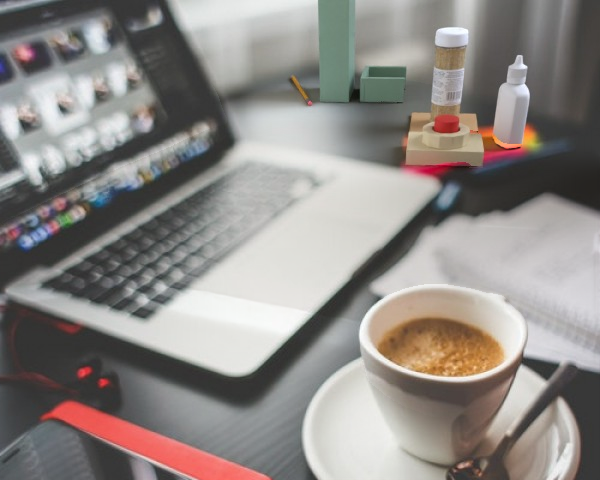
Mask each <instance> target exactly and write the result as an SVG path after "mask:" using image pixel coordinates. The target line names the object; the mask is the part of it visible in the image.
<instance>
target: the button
mask: <svg viewBox="0 0 600 480" xmlns="http://www.w3.org/2000/svg"><path fill="white" fill-rule="evenodd" d="M458 127H459V118H458V117H457V116H454V115H439V116H436V117H435V122H434V131H435V132H438V133H456V132H458Z"/></svg>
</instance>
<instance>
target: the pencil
mask: <svg viewBox="0 0 600 480" xmlns="http://www.w3.org/2000/svg"><path fill="white" fill-rule="evenodd" d="M290 77H291V78H290V79H291V80H292V81H293V83H294V85H295V86H296V88H297V89H298V91H299V92H300V94H301V96H302V97H303V98H304V100H305V101H306V104H307V105H308V106H310V107H311V106H312V105H313V102H312V100H311V99H310V97H309V96H308V94H307V93H306V91H305V90H304V88H303V87H302V86H301V84H300V83H299V81H298V79H297V78H296V76H295V75H291V76H290Z"/></svg>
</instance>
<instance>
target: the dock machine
mask: <svg viewBox="0 0 600 480" xmlns="http://www.w3.org/2000/svg"><path fill="white" fill-rule="evenodd" d="M317 19H318V23H317V24H318V25H317V26H318V63H319V64H318V67H319V68H318V69H319V70H318V71H319V72H318V73H319V102H320V103H349V102H350V100H351V98H352V94H353V92H354V90H353V89H355V83H356V82H355V80H356V79H355V78H356V77H355V76H356V74H355V72H356V68H355V67H356V65H355V64H356V0H317ZM407 68H408V66H407V65H365V66H364V67H363V70H362V73H361V76H360V78H359V80H360V81H359V103H384V102H383V101H401V100H402V101H403V102H404V97H405V90H404V85H406V86H407V71H408V69H407ZM352 91H353V92H352ZM381 101H382V102H381Z"/></svg>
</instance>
